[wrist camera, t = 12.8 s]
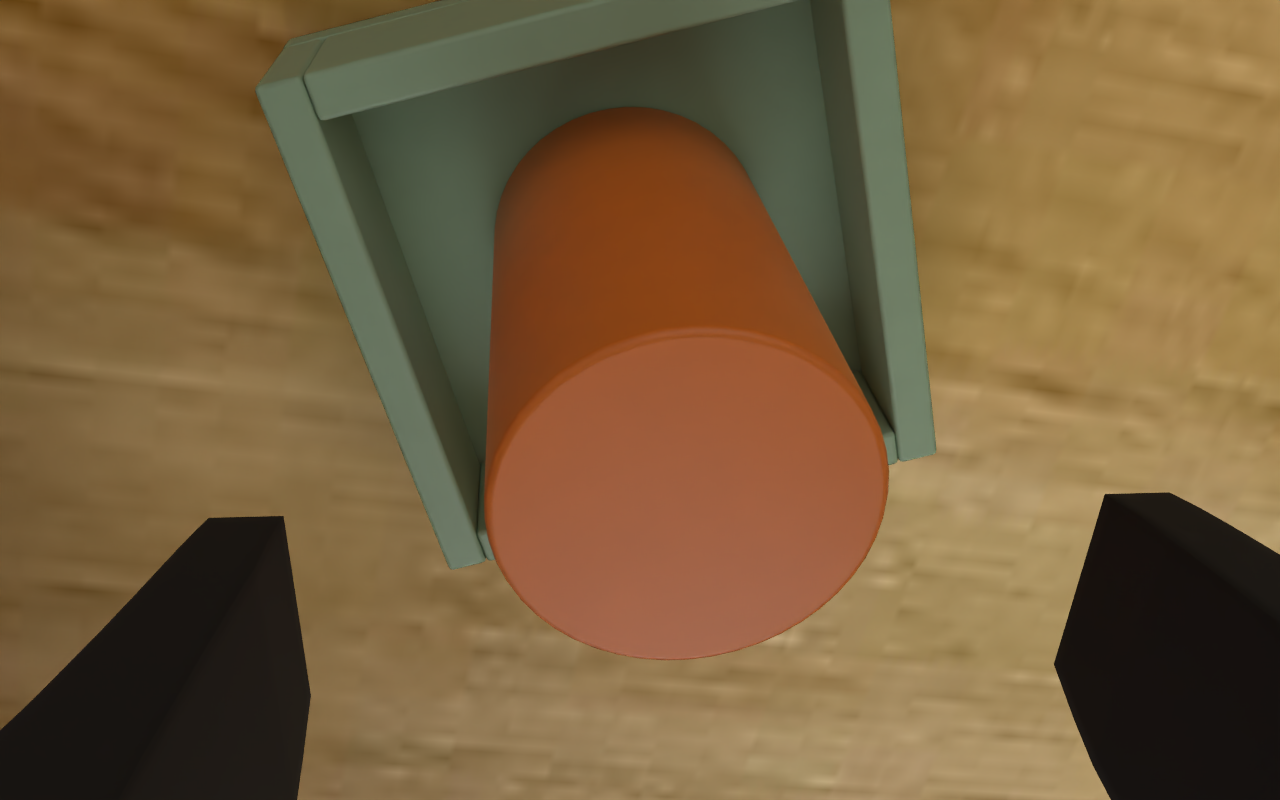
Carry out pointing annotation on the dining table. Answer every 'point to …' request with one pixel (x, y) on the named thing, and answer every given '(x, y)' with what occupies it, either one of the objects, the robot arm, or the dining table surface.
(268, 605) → the robot arm
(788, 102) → the tray
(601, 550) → the orange cylinder
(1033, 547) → the dining table surface
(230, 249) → the dining table surface
